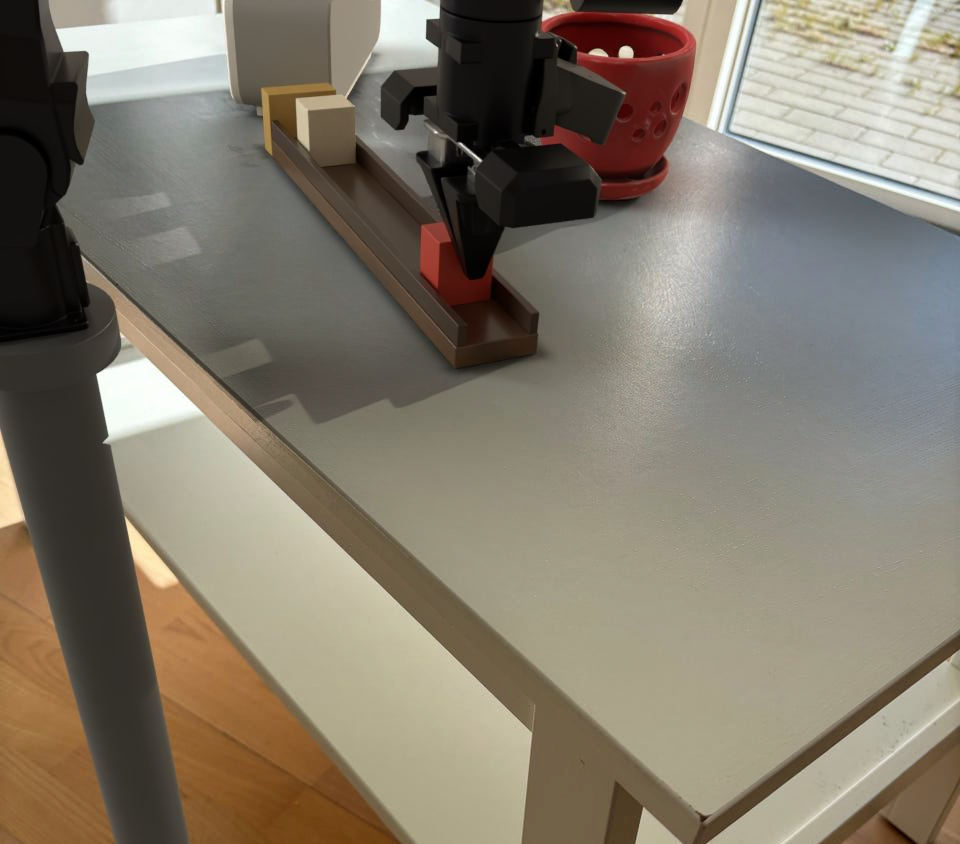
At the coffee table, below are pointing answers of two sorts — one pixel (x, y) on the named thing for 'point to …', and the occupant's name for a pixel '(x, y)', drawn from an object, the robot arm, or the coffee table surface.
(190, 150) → the coffee table surface
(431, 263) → the block
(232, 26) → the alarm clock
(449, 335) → the rail
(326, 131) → the block
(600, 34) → the flower pot
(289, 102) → the left stop
